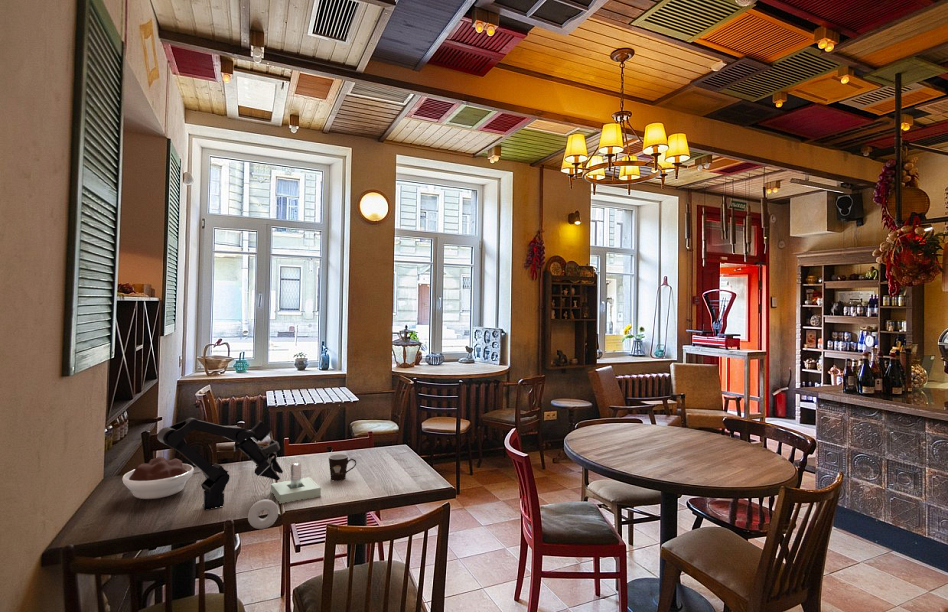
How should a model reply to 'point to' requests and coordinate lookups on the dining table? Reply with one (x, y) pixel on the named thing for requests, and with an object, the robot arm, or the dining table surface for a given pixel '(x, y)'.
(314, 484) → the socket block
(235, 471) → the dining table surface
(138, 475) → the bowl of chocolate pudding
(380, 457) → the dining table surface
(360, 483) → the dining table surface
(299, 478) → the steel pin
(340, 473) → the coffee mug
